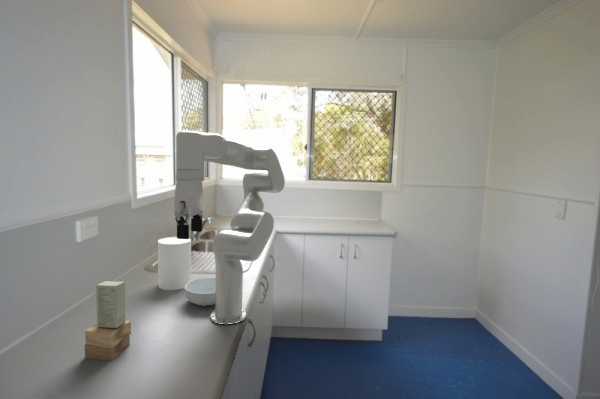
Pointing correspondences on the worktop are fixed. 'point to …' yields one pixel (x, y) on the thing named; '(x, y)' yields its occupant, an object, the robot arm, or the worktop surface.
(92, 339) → the oak top block
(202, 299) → the cereal bowl
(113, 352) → the walnut base block
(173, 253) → the canister
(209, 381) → the worktop surface
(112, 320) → the skincare box
